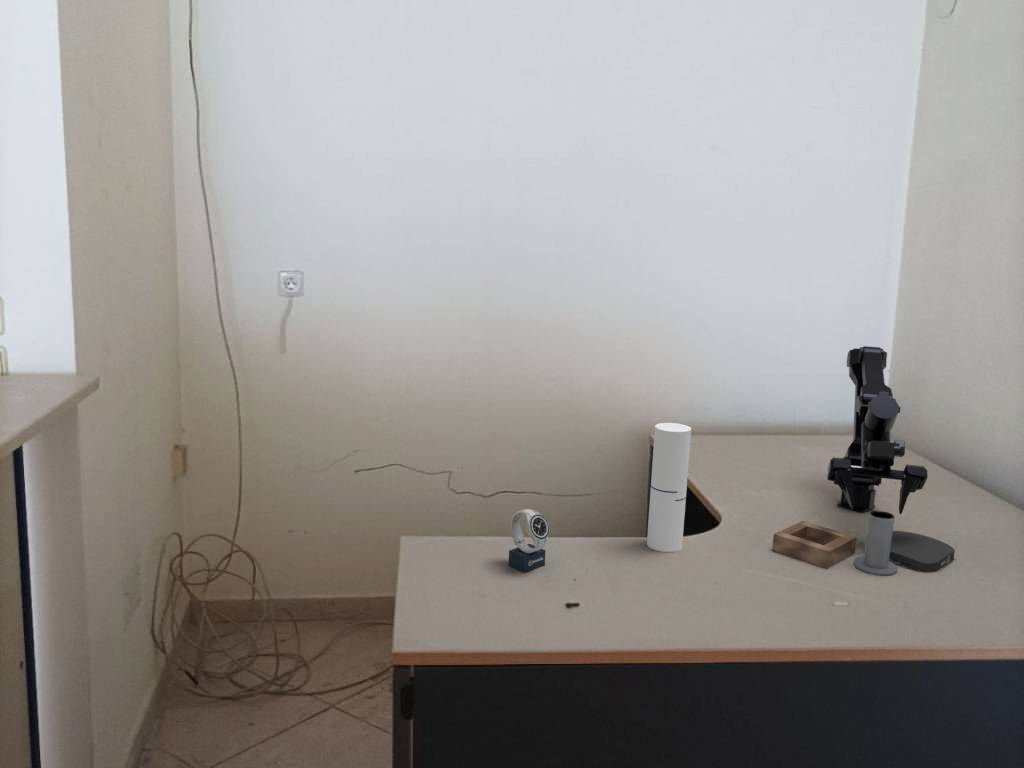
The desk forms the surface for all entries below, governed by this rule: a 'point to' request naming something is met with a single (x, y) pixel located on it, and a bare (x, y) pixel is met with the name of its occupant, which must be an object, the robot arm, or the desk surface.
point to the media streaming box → (919, 552)
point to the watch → (528, 554)
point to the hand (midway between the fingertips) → (876, 510)
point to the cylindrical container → (668, 486)
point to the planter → (879, 539)
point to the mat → (875, 571)
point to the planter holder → (814, 544)
